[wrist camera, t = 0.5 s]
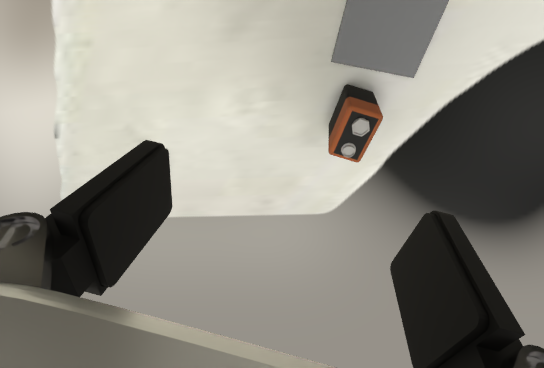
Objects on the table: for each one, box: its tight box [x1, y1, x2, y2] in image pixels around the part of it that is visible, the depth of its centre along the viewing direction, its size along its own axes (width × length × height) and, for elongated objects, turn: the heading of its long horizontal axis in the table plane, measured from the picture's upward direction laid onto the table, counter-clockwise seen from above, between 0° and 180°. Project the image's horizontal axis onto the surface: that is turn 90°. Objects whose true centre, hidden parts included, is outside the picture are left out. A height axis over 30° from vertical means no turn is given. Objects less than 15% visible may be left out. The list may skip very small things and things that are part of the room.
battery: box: [329, 85, 383, 162], centre depth 35 cm, size 4×7×10 cm, turn 166°
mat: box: [331, 0, 449, 78], centre depth 31 cm, size 13×11×1 cm
